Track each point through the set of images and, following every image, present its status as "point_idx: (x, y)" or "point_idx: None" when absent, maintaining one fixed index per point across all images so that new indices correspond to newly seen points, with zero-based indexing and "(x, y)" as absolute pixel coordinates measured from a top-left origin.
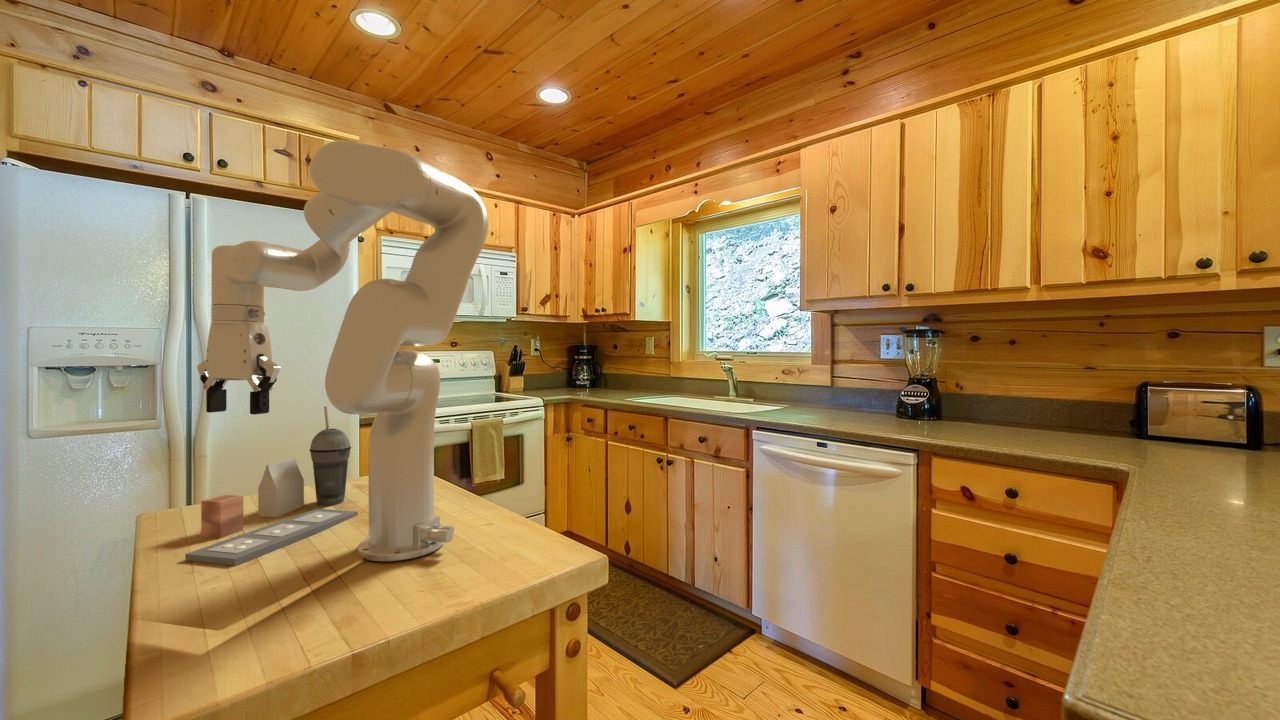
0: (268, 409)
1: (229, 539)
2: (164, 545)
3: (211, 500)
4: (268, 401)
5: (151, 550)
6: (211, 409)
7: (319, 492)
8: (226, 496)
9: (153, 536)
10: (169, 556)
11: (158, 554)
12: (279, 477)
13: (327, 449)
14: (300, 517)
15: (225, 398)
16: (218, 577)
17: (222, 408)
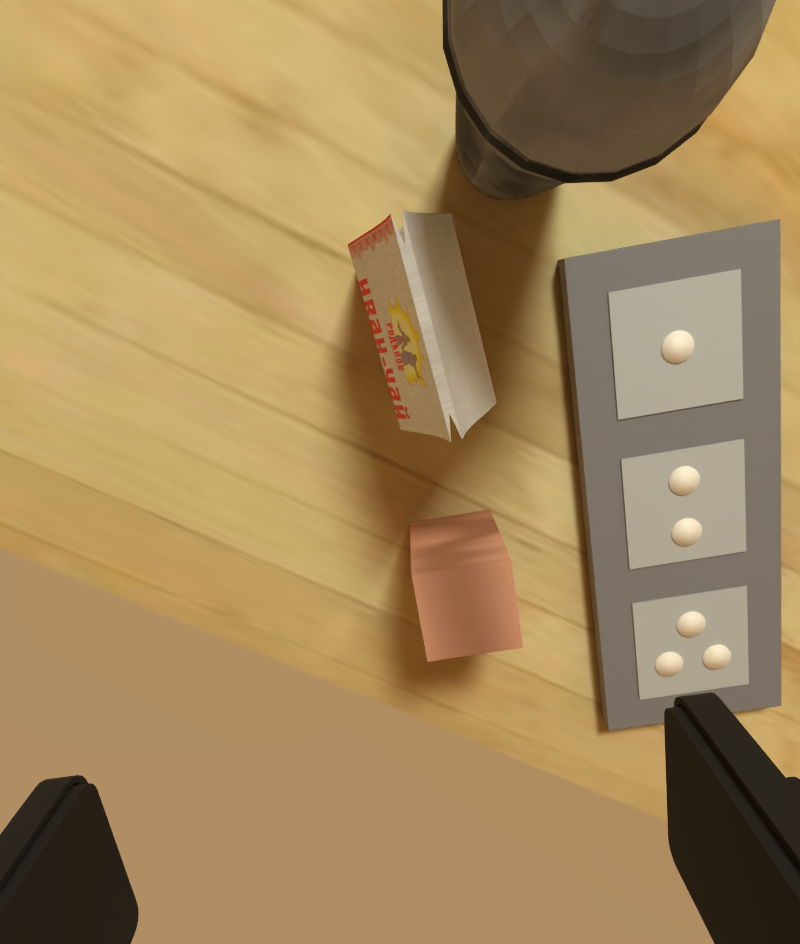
0: (725, 715)
1: (604, 622)
2: (409, 675)
3: (459, 644)
4: (788, 794)
5: (423, 708)
6: (124, 930)
7: (529, 194)
8: (450, 589)
9: (280, 645)
10: (524, 714)
11: (478, 717)
12: (471, 372)
13: (695, 127)
14: (618, 382)
15: (6, 925)
16: (797, 745)
17: (90, 834)
